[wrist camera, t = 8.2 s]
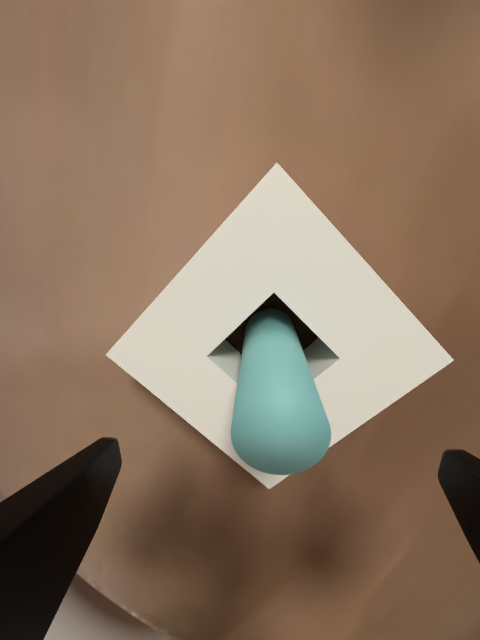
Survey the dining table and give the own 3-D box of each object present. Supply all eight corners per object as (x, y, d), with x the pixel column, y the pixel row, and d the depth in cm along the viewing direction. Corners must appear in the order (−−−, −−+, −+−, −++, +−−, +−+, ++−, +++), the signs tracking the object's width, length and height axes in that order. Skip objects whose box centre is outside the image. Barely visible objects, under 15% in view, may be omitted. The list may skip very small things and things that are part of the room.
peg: (304, 332, 17) (352, 438, 8) (269, 363, 17) (278, 489, 9) (270, 298, 16) (282, 373, 8) (235, 331, 17) (210, 433, 8)
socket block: (414, 334, 16) (454, 360, 13) (267, 444, 19) (269, 489, 16) (272, 178, 14) (276, 162, 11) (135, 331, 17) (105, 354, 14)
